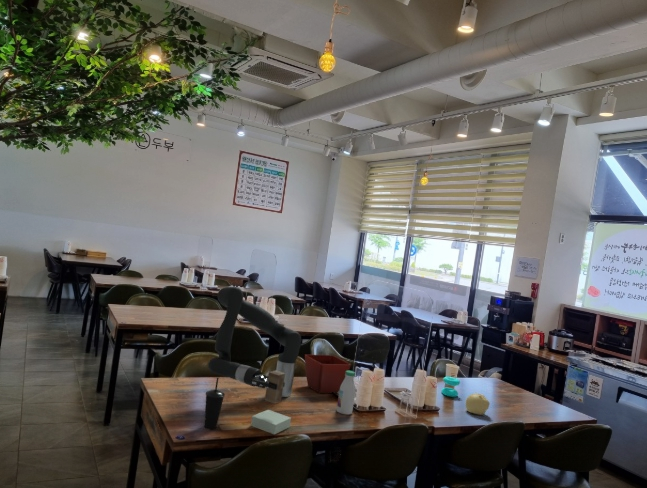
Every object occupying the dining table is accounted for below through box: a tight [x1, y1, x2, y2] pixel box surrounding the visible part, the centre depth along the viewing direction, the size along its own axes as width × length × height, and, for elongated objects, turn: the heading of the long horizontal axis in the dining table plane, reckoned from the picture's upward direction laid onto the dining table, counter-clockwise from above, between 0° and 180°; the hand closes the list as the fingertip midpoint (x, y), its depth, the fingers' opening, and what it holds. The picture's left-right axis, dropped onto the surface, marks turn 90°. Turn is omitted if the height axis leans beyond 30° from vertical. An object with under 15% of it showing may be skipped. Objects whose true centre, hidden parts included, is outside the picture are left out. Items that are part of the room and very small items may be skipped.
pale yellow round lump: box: [464, 392, 490, 416], centre depth 279 cm, size 11×12×11 cm
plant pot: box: [304, 354, 351, 394], centre depth 279 cm, size 19×19×17 cm
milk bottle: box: [336, 370, 356, 416], centre depth 247 cm, size 8×8×20 cm
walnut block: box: [264, 369, 285, 404], centre depth 215 cm, size 5×5×12 cm
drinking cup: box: [203, 377, 226, 430], centre depth 205 cm, size 8×8×20 cm
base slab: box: [250, 409, 292, 435], centre depth 215 cm, size 12×12×4 cm
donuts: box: [441, 376, 461, 398], centre depth 308 cm, size 10×10×10 cm
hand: (280, 386), depth 214 cm, fingers closed on walnut block, 5 cm apart
